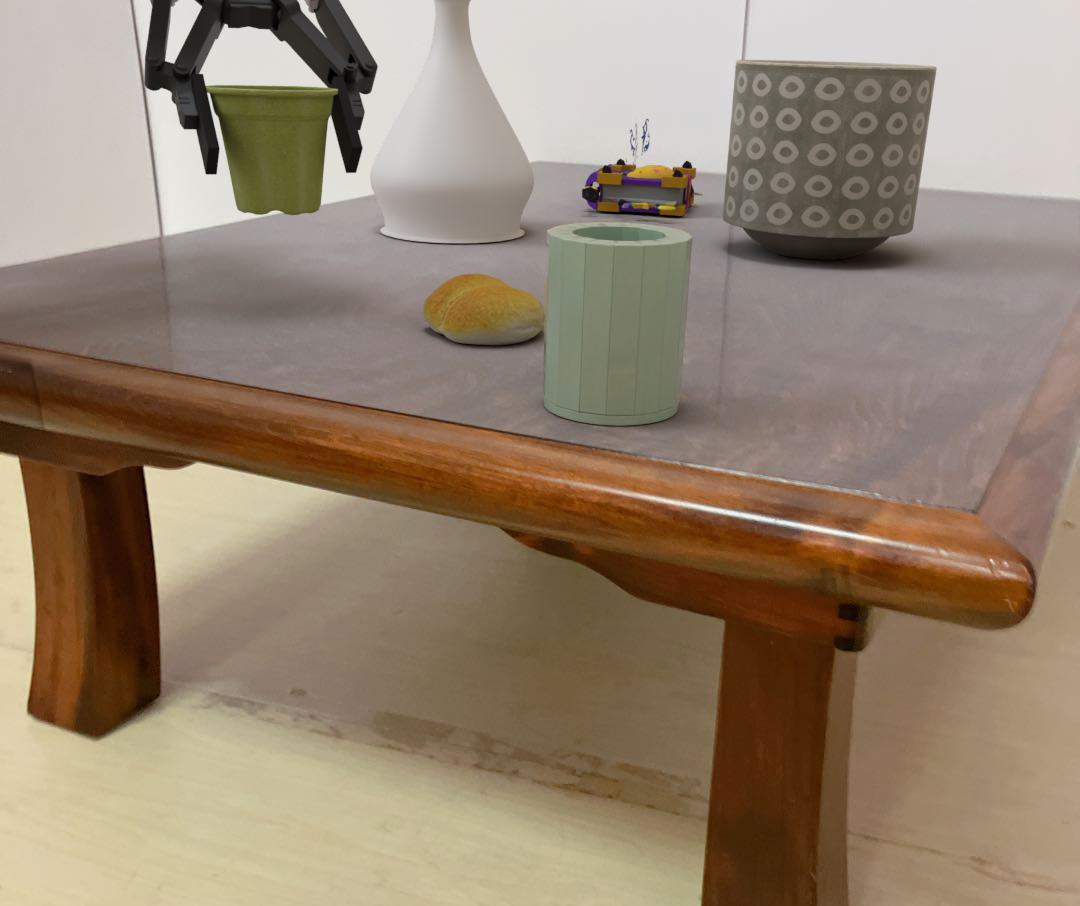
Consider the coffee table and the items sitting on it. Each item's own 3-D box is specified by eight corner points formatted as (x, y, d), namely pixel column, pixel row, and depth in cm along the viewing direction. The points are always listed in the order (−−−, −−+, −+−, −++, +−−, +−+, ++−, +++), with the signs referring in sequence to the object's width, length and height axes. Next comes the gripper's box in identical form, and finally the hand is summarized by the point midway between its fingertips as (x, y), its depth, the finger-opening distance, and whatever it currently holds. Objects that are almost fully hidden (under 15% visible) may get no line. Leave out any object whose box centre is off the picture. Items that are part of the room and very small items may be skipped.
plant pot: (186, 210, 87) (175, 84, 83) (280, 199, 94) (274, 83, 90) (275, 224, 82) (268, 91, 78) (368, 212, 89) (365, 89, 86)
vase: (400, 249, 117) (394, -30, 107) (352, 223, 131) (343, -25, 121) (559, 241, 124) (567, -22, 114) (496, 217, 138) (499, -18, 128)
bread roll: (467, 353, 80) (467, 294, 78) (409, 325, 87) (408, 271, 85) (568, 339, 84) (570, 283, 82) (505, 314, 91) (506, 262, 89)
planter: (757, 232, 133) (774, 59, 126) (927, 250, 125) (956, 65, 117) (691, 255, 118) (706, 60, 111) (879, 278, 109) (909, 68, 102)
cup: (548, 425, 66) (554, 243, 62) (538, 386, 73) (542, 221, 69) (690, 426, 66) (704, 246, 62) (665, 386, 74) (677, 223, 70)
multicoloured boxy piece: (564, 217, 140) (568, 108, 135) (601, 192, 162) (606, 98, 157) (687, 225, 137) (695, 113, 132) (707, 198, 159) (715, 102, 154)
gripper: (358, -28, 98) (420, 192, 91) (76, -44, 90) (122, 197, 83) (375, -105, 92) (444, 125, 85) (73, -131, 83) (122, 123, 76)
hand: (285, 161), depth 84 cm, fingers closed on plant pot, 9 cm apart
